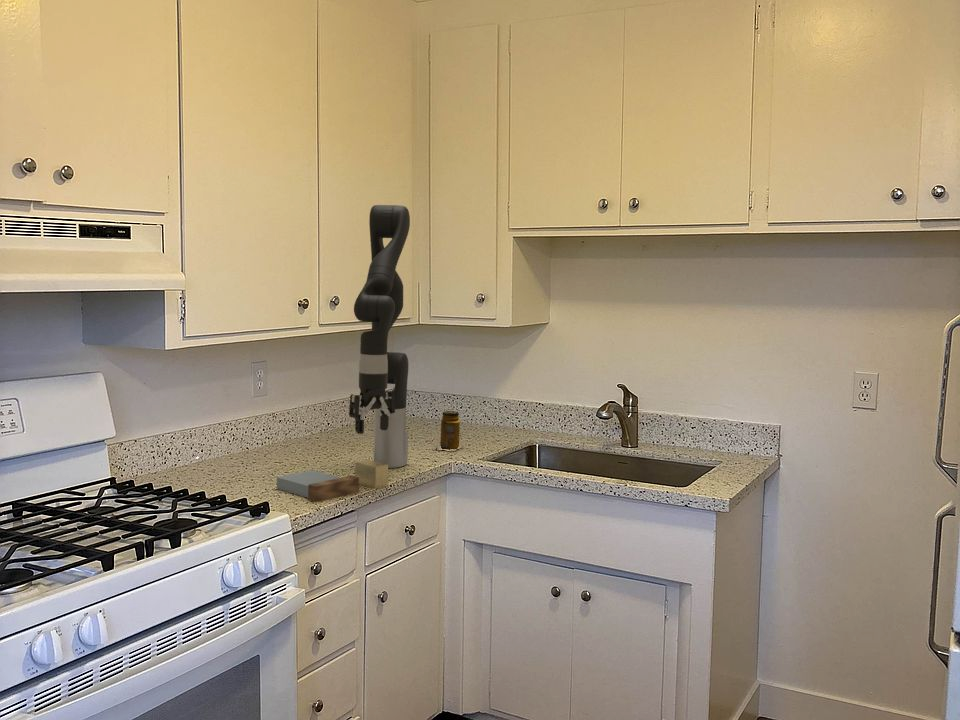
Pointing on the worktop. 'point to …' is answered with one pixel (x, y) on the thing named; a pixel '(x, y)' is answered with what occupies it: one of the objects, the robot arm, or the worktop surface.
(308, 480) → the flat grey square tile
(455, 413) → the condiment
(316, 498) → the block
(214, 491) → the worktop surface
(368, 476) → the block
